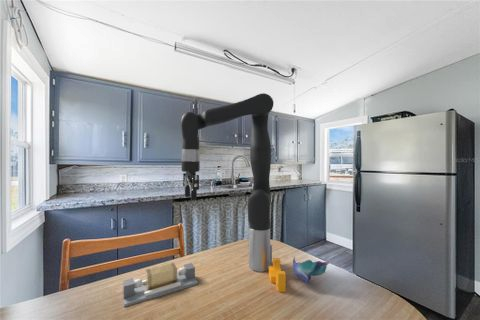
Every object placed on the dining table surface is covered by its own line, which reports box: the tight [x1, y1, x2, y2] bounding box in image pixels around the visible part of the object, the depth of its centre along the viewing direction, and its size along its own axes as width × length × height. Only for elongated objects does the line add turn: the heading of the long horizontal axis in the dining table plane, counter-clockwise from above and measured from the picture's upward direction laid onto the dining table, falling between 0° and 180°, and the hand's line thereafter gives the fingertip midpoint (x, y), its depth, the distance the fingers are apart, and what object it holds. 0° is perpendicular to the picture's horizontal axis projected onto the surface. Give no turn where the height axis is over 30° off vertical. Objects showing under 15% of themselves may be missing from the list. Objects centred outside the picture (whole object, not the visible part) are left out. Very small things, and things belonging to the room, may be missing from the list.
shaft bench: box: [122, 262, 199, 308], centre depth 76 cm, size 24×10×5 cm, turn 121°
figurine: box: [292, 255, 332, 284], centre depth 79 cm, size 13×12×9 cm
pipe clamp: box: [268, 257, 287, 293], centre depth 80 cm, size 12×4×6 cm, turn 0°
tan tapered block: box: [145, 262, 178, 291], centre depth 76 cm, size 10×5×6 cm, turn 121°
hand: (190, 198), depth 89 cm, fingers open, 8 cm apart
